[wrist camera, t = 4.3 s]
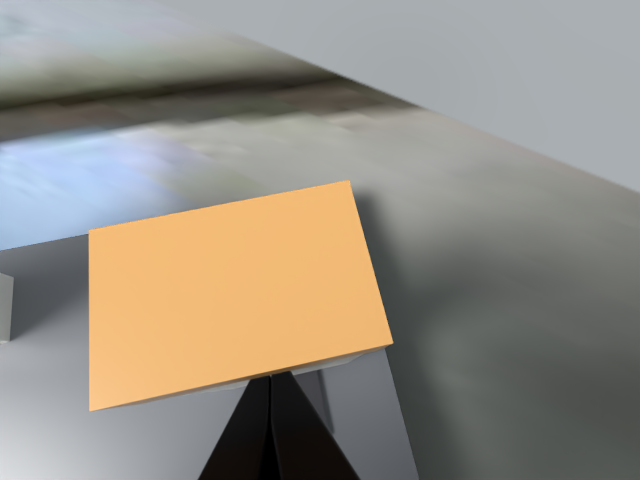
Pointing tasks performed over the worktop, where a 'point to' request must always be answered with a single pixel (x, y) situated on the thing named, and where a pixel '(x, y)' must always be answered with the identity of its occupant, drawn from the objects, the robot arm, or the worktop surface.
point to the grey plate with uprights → (153, 417)
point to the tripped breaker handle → (230, 296)
